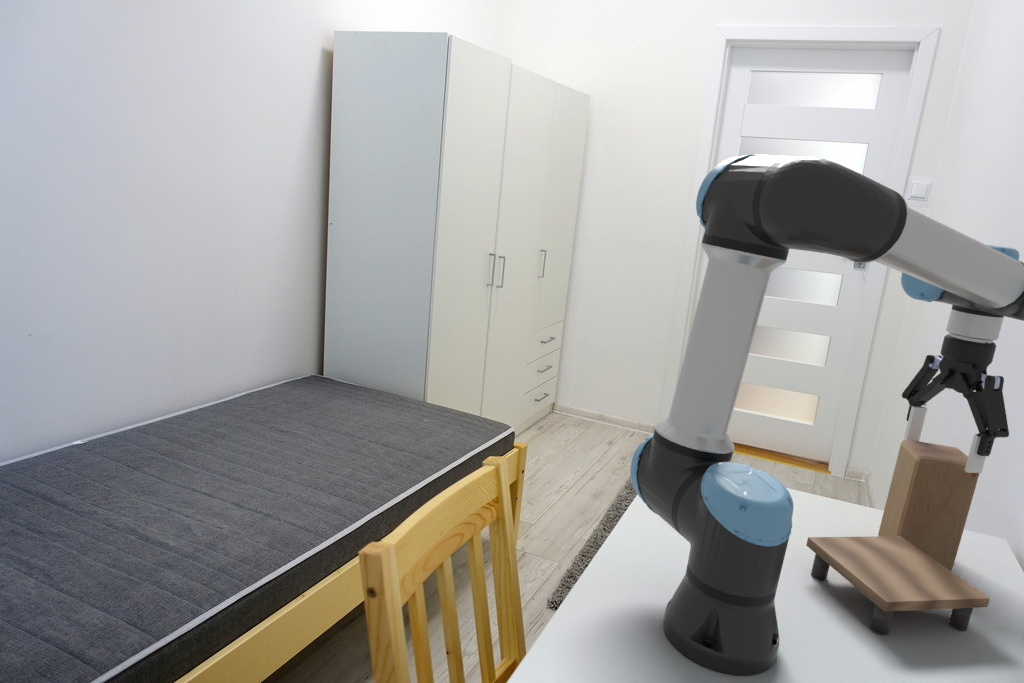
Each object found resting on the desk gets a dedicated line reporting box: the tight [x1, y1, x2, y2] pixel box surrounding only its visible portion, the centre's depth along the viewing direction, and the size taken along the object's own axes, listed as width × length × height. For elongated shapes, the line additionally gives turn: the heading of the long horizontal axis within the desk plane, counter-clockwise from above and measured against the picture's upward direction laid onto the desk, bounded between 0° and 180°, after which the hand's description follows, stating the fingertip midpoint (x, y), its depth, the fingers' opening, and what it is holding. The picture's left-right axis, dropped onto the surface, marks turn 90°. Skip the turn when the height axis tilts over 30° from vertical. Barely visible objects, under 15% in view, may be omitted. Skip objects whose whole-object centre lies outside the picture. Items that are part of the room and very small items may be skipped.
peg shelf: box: [806, 535, 991, 636], centre depth 111 cm, size 18×18×6 cm
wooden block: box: [877, 439, 980, 572], centre depth 126 cm, size 10×10×20 cm
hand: (940, 455), depth 124 cm, fingers open, 13 cm apart
